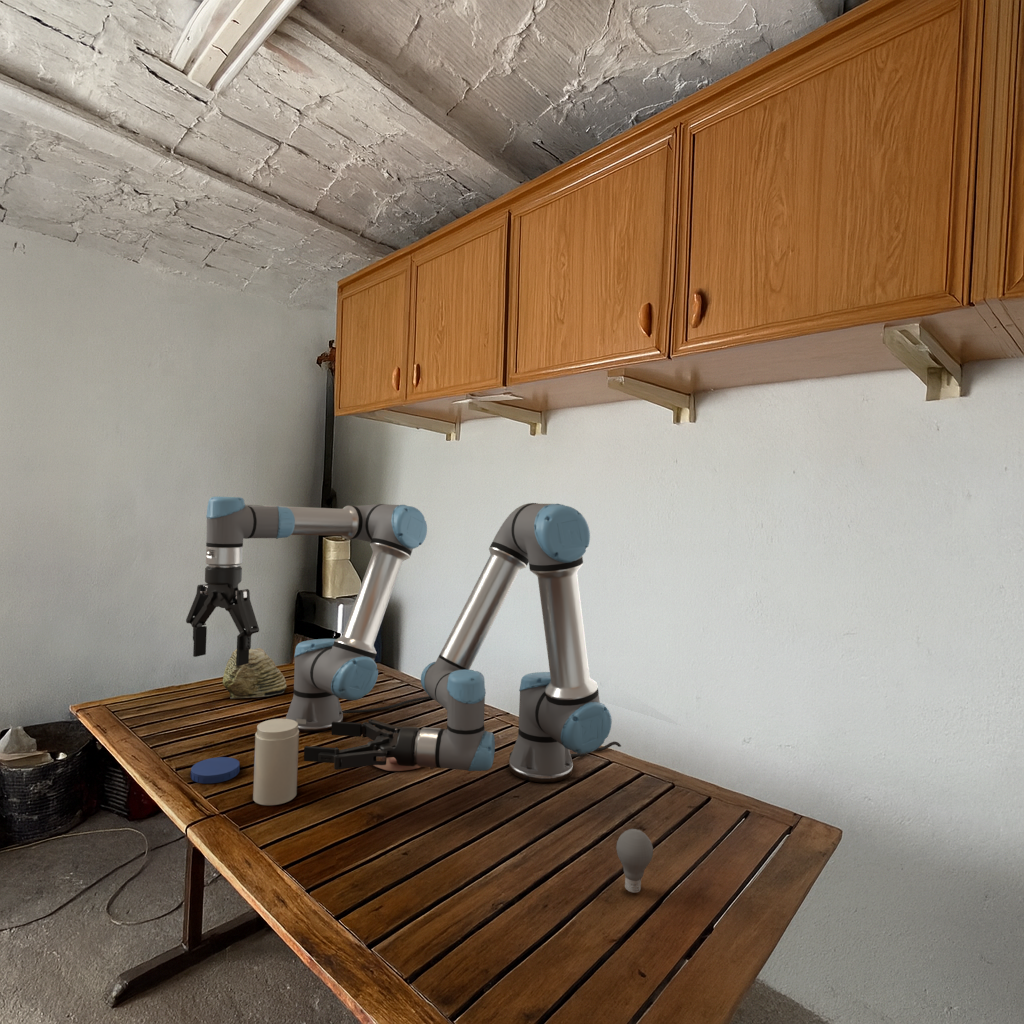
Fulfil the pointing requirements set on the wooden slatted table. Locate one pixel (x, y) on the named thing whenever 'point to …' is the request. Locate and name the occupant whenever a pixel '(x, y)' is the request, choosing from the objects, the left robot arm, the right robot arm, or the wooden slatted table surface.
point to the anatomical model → (394, 765)
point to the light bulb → (634, 857)
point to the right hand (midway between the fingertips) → (319, 740)
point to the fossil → (253, 676)
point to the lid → (215, 770)
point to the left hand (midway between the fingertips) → (220, 660)
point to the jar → (276, 761)
